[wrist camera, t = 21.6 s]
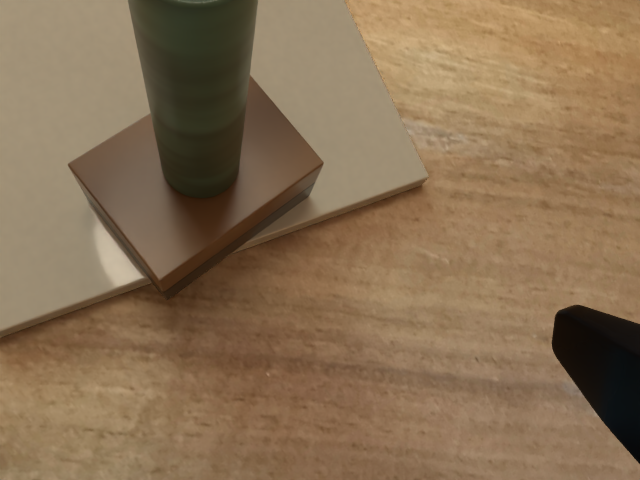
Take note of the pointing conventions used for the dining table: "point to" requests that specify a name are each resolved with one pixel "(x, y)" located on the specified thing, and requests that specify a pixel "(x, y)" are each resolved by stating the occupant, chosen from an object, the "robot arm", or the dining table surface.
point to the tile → (132, 104)
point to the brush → (196, 146)
